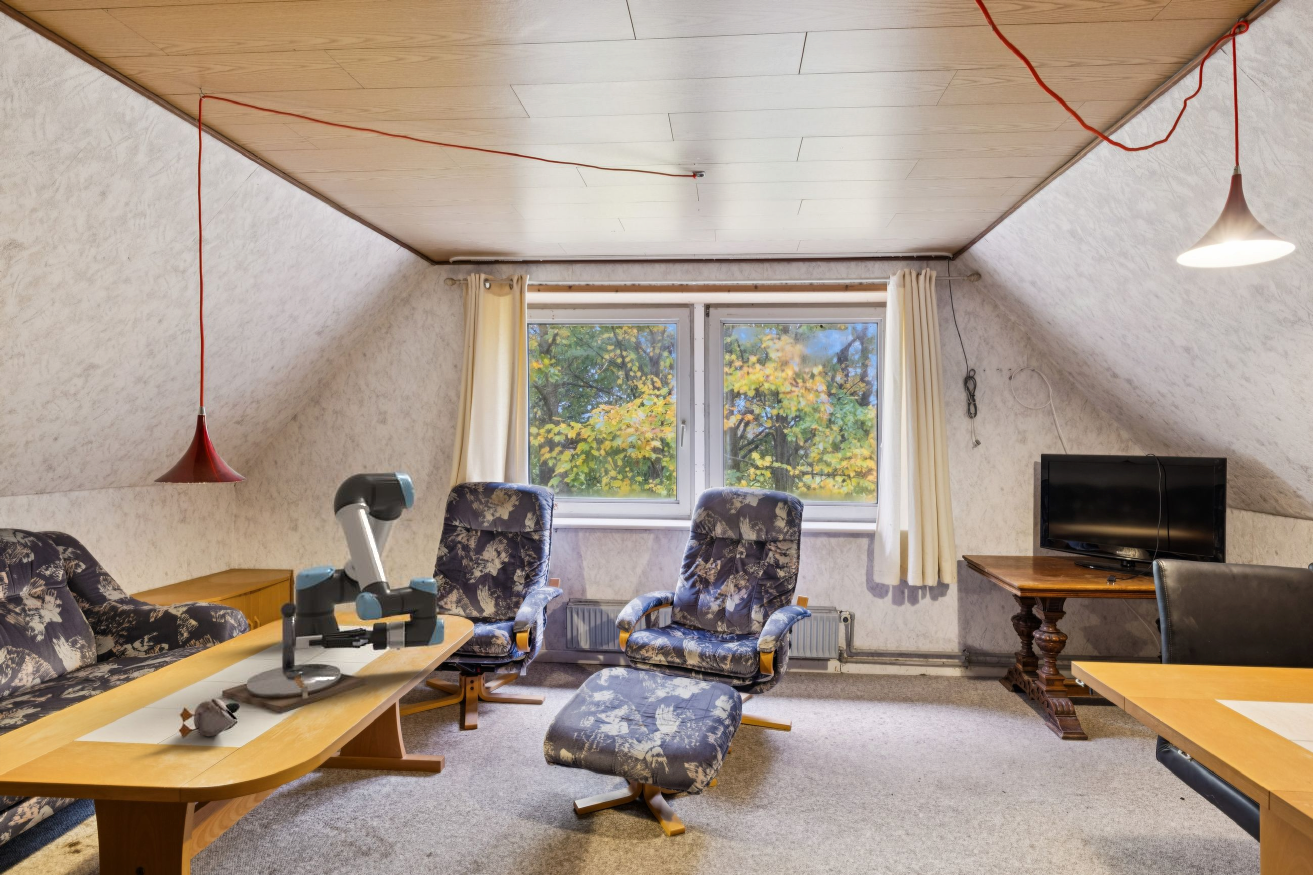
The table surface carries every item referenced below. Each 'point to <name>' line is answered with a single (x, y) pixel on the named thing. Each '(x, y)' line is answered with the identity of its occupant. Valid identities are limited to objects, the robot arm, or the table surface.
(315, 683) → the dial
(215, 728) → the decorative duck model
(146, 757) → the table surface
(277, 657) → the table surface
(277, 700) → the walnut stand board
